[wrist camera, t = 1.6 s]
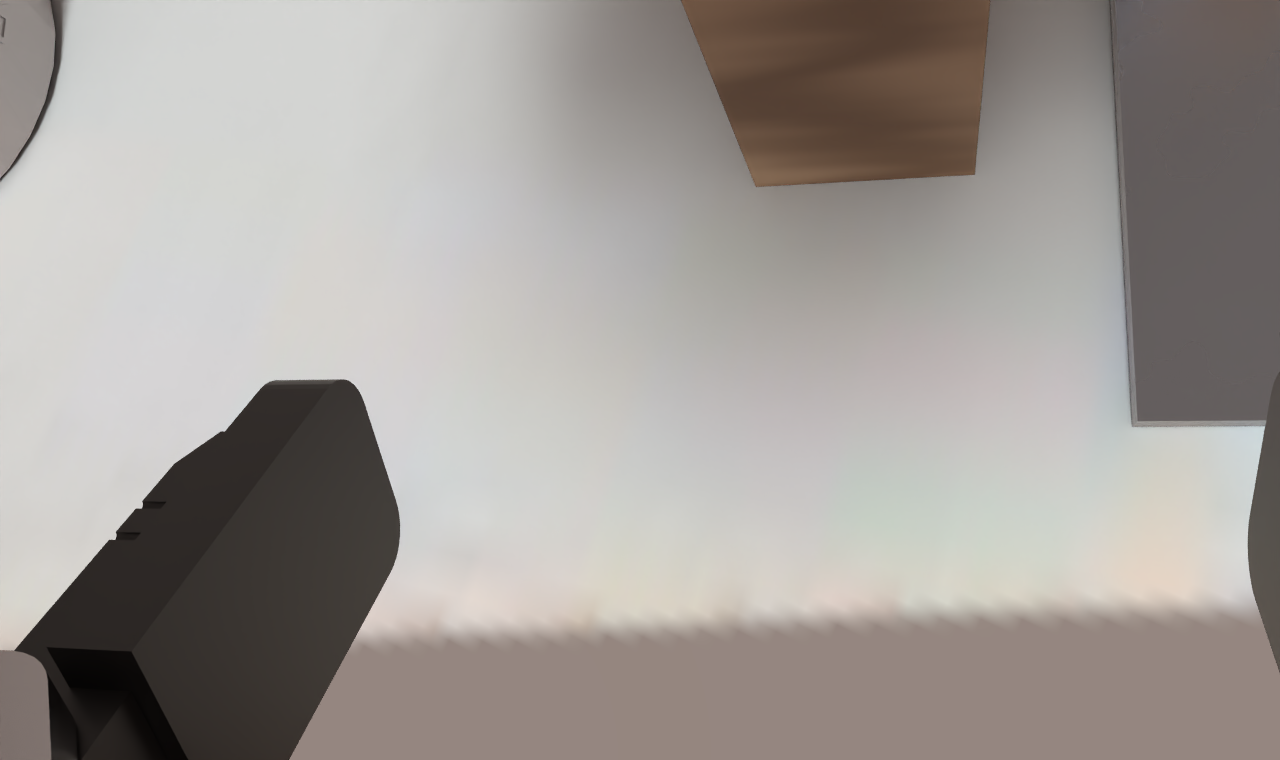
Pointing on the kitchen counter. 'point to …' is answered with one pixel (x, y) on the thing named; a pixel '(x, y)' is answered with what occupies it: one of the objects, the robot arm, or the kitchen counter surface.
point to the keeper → (1199, 206)
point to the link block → (847, 85)
